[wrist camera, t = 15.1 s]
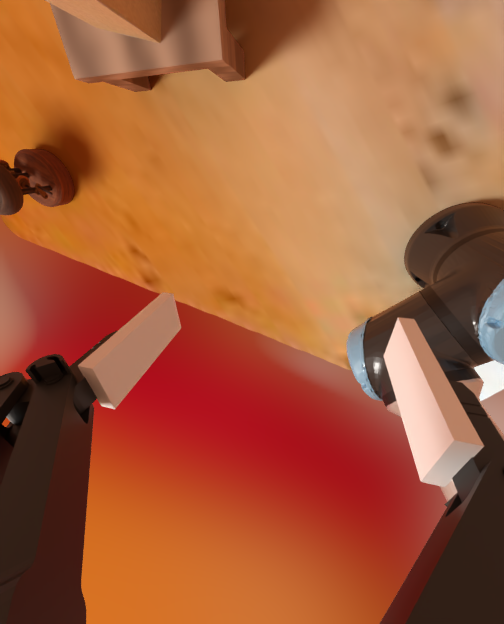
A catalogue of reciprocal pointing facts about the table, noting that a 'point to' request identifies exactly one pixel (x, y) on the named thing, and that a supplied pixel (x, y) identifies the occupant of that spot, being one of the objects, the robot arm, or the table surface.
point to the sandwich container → (118, 16)
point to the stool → (154, 46)
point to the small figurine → (34, 181)
